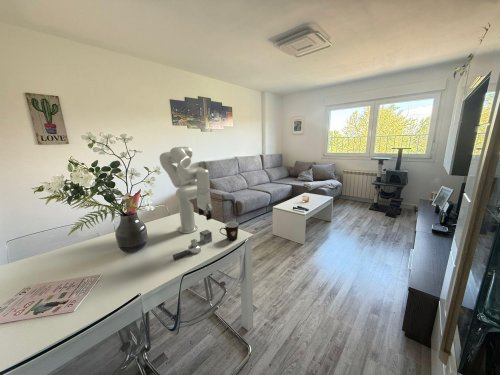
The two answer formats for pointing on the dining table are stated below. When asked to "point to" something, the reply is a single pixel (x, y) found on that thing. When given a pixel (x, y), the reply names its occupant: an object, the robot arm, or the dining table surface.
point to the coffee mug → (231, 230)
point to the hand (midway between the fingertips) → (205, 216)
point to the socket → (205, 236)
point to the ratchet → (189, 250)
